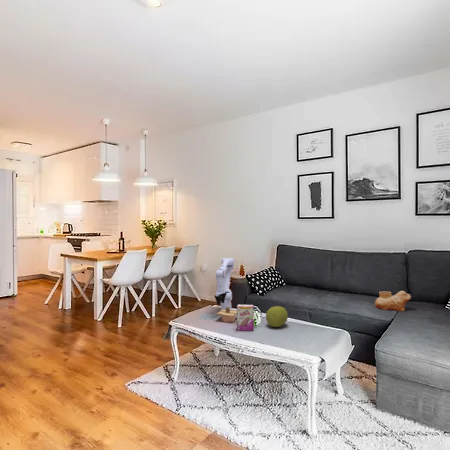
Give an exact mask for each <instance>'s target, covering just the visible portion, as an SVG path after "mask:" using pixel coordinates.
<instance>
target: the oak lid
mask: <svg viewBox="0 0 450 450" xmlns="http://www.w3.org/2000/svg"><path fill="white" fill-rule="evenodd" d="M215 314H216V315H219V316H228V317H234V316H235V317H236V316H237V309H236V310H234V309H231V310H230V307H226V309H222V310H221V309H220V310H219V311H218V312H216V313H215Z"/></svg>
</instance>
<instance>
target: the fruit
mask: <svg viewBox="0 0 450 450" xmlns="http://www.w3.org/2000/svg"><path fill="white" fill-rule="evenodd" d="M288 318H289V314H288V311H287V309H286V308H285V307H282V306H279V305H277V306H276V305H275V306H271V307H270V308H269V309H267V311H266V314H265V320H266V322H267V325H268V326H270V327H273V328H280V327H283V325H284V324H285V323H286V322H287V321H288Z"/></svg>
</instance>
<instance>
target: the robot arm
mask: <svg viewBox="0 0 450 450" xmlns="http://www.w3.org/2000/svg"><path fill="white" fill-rule="evenodd" d="M220 262H221V265H220V266H219V268H218V269H217V270H216V271H215V280H216V291H215V295H214V299H215V301H216V305H217V306H220V311H221V310H222V309H226V307H230V310H232V302H231V301H232V299H233V292H232V290H231V289H230V284H231V283H230V282H231V276H232V275H231V274H232V270H234V267H235V258H234V257H222V258H221V261H220Z"/></svg>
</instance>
